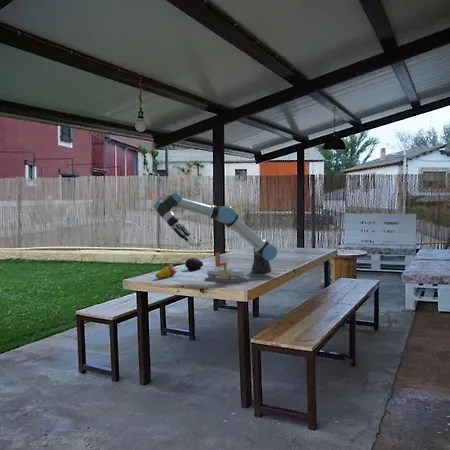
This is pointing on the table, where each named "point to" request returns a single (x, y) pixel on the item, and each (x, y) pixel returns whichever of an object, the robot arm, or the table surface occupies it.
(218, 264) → the lever
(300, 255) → the table surface
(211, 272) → the valve base
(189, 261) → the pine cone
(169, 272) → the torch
